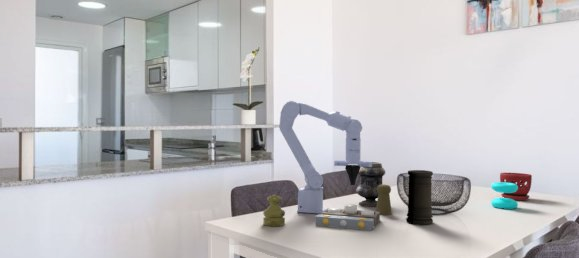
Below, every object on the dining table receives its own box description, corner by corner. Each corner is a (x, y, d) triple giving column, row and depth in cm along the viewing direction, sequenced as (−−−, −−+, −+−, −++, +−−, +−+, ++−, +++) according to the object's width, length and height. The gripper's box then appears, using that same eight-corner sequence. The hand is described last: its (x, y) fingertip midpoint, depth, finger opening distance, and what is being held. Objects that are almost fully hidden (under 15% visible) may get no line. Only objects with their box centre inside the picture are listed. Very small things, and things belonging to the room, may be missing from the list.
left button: (326, 219, 159) (326, 209, 159) (329, 217, 163) (329, 207, 163) (338, 220, 158) (338, 210, 158) (341, 218, 162) (341, 208, 162)
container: (433, 220, 160) (433, 170, 160) (432, 226, 151) (433, 173, 151) (407, 218, 163) (407, 169, 163) (405, 224, 154) (405, 171, 154)
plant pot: (537, 201, 201) (537, 175, 201) (507, 201, 201) (508, 174, 201) (522, 196, 214) (522, 171, 214) (494, 196, 214) (495, 171, 214)
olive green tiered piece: (268, 227, 147) (269, 197, 147) (259, 223, 154) (259, 194, 154) (288, 225, 151) (289, 195, 151) (279, 221, 157) (279, 192, 157)
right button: (359, 222, 155) (360, 212, 155) (362, 220, 159) (362, 210, 159) (372, 223, 154) (372, 213, 154) (374, 221, 158) (374, 211, 158)
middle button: (342, 216, 157) (343, 206, 157) (345, 213, 161) (345, 203, 161) (355, 217, 156) (355, 206, 156) (357, 214, 160) (358, 204, 160)
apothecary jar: (391, 205, 189) (391, 162, 189) (370, 208, 183) (370, 163, 182) (370, 200, 199) (371, 160, 199) (350, 203, 193) (350, 161, 192)
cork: (391, 215, 169) (392, 186, 169) (375, 214, 170) (375, 185, 170) (391, 212, 175) (391, 184, 174) (375, 211, 176) (376, 183, 176)
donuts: (504, 185, 180) (486, 182, 190) (503, 210, 181) (485, 205, 190) (523, 184, 184) (504, 181, 193) (523, 209, 184) (504, 204, 193)
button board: (320, 221, 157) (320, 213, 157) (328, 216, 166) (328, 207, 166) (375, 226, 150) (375, 217, 150) (379, 220, 160) (379, 211, 160)
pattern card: (315, 225, 151) (315, 216, 151) (318, 222, 155) (319, 213, 155) (371, 230, 145) (372, 220, 145) (374, 227, 149) (374, 218, 149)
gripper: (332, 150, 174) (332, 185, 174) (369, 151, 169) (369, 187, 169) (336, 149, 180) (336, 182, 181) (373, 150, 175) (372, 184, 176)
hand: (352, 184), depth 175 cm, fingers closed
